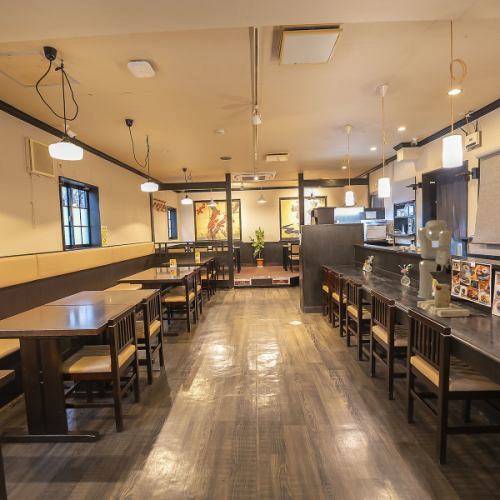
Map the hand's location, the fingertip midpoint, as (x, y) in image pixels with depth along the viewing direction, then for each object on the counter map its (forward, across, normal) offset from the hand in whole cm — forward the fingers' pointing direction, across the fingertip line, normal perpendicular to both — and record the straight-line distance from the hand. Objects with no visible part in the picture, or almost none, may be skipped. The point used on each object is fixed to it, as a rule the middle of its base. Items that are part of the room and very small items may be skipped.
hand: (443, 272), depth 217 cm
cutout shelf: (+28, +1, 0) cm, 28 cm away
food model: (+28, 0, 0) cm, 28 cm away
